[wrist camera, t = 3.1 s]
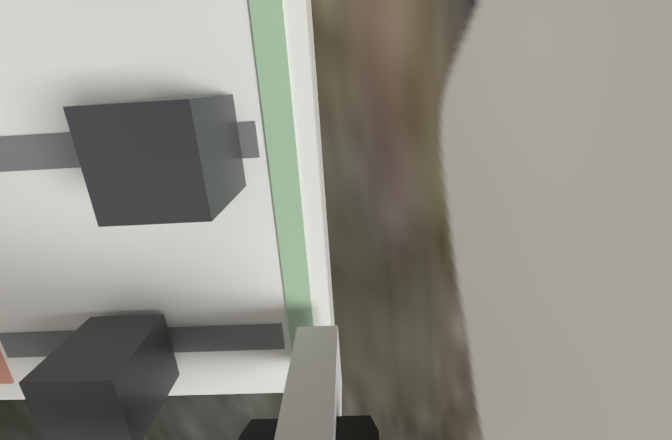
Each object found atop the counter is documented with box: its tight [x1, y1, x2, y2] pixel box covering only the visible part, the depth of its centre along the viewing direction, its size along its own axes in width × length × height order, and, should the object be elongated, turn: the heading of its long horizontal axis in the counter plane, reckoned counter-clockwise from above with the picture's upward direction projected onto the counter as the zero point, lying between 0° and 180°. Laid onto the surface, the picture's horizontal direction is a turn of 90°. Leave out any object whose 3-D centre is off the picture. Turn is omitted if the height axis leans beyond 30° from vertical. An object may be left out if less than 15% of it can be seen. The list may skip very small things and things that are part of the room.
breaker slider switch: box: [19, 314, 180, 440], centre depth 14 cm, size 3×3×4 cm
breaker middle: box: [63, 94, 246, 227], centre depth 11 cm, size 3×3×4 cm
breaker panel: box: [0, 0, 335, 400], centre depth 14 cm, size 22×16×2 cm
